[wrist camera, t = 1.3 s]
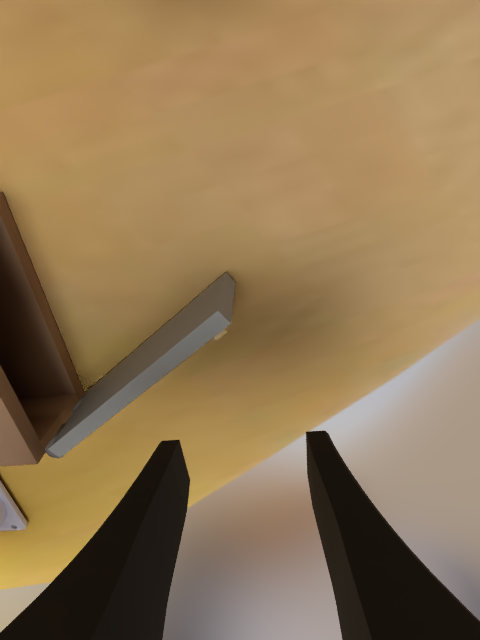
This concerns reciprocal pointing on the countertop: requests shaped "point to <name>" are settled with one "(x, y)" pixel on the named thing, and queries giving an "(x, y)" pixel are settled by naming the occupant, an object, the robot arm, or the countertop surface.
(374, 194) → the countertop surface
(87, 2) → the countertop surface
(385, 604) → the robot arm
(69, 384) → the walnut cabinet
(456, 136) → the countertop surface
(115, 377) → the cabinet door
